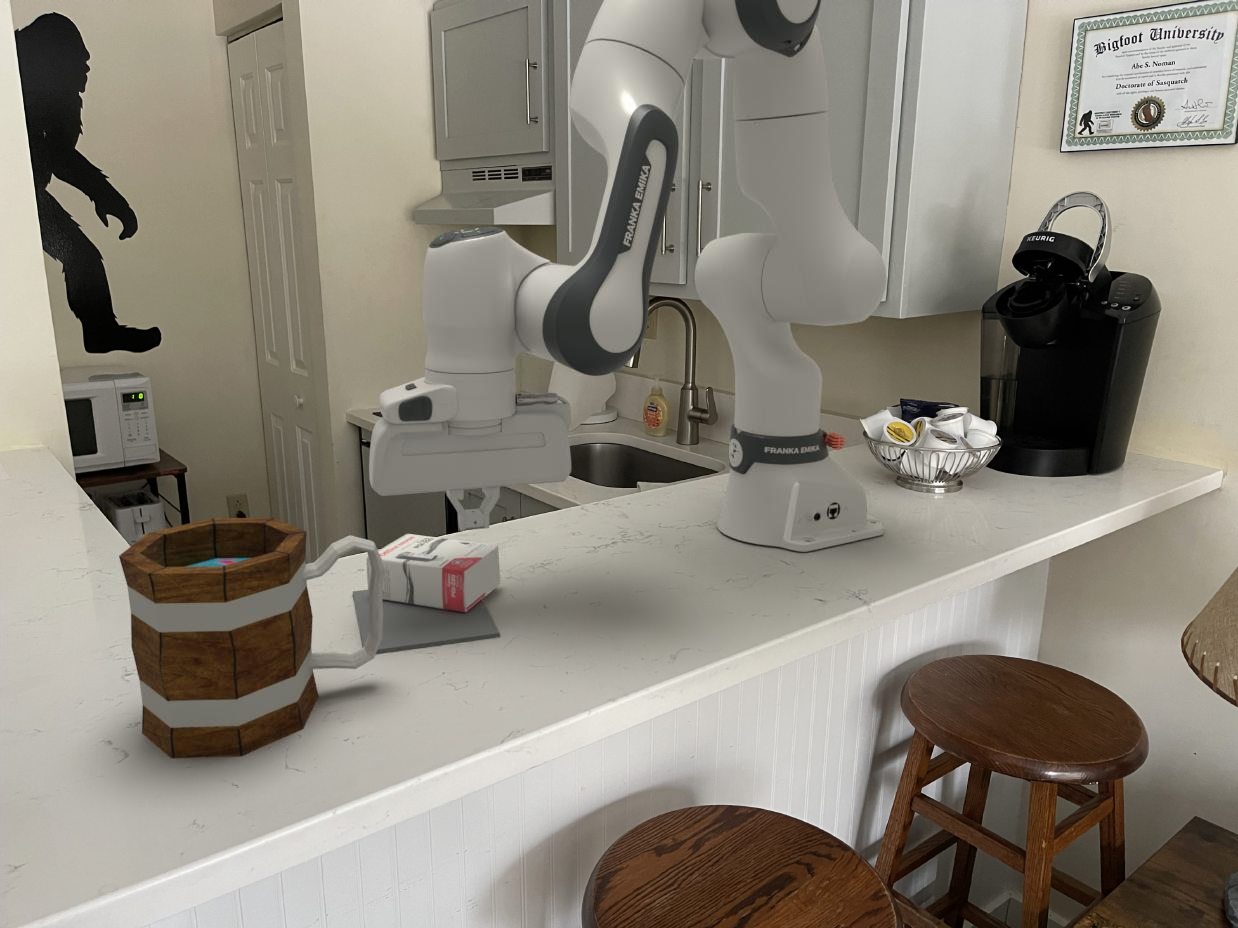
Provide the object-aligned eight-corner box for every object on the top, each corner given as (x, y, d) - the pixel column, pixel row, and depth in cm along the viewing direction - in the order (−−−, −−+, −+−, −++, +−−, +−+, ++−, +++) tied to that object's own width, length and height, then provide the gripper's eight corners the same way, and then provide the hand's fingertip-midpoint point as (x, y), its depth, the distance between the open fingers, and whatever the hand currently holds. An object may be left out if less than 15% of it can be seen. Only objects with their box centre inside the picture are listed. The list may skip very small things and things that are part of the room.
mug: (141, 778, 65) (115, 588, 62) (142, 694, 77) (120, 528, 73) (409, 717, 74) (401, 547, 70) (373, 649, 86) (365, 500, 82)
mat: (470, 581, 103) (470, 577, 102) (499, 636, 89) (499, 632, 89) (352, 594, 98) (352, 591, 98) (364, 655, 85) (364, 651, 85)
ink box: (463, 568, 91) (362, 557, 95) (466, 614, 93) (366, 601, 96) (500, 541, 99) (405, 532, 103) (502, 583, 101) (409, 573, 104)
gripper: (562, 386, 95) (561, 510, 99) (363, 394, 89) (370, 527, 92) (580, 397, 90) (579, 528, 93) (369, 407, 83) (376, 548, 86)
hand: (473, 528), depth 93 cm, fingers closed
